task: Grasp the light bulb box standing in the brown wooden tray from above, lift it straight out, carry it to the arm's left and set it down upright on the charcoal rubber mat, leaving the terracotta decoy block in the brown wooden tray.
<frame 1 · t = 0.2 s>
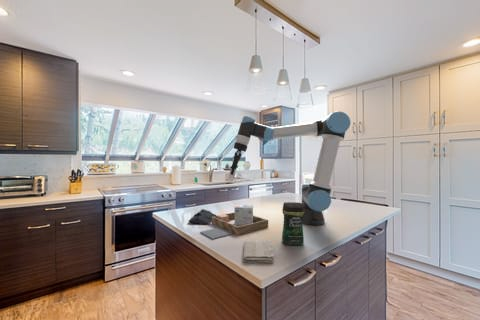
hand: (230, 178, 125), 27 cm above the counter, tool tilted 15°, fingers open, 13 cm apart
mat: (216, 233, 112), on the counter
light bulb box: (243, 224, 128), resting in brown wooden tray
coffee jar: (292, 243, 100), on the counter
dark slate chunk: (202, 220, 138), on the counter
brown wooden tray: (239, 225, 126), on the counter
decoy block: (222, 224, 129), resting in brown wooden tray
washcloth: (257, 254, 89), on the counter
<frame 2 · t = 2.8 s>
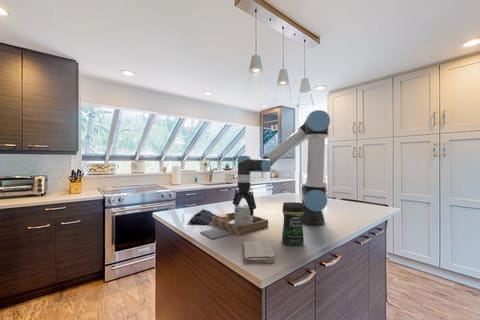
hand: (243, 218, 128), 3 cm above the counter, tool pointing down, fingers closed on light bulb box, 12 cm apart
light bulb box: (243, 224, 128), resting in brown wooden tray, touching gripper
everything else where it was.
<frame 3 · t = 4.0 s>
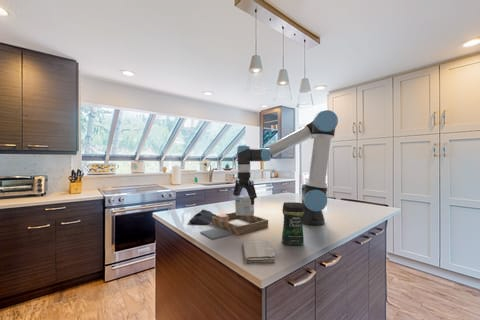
hand: (244, 208, 128), 9 cm above the counter, tool pointing down, fingers closed on light bulb box, 12 cm apart
light bulb box: (245, 214, 128), point 6 cm above the counter, touching gripper
everything else where it was.
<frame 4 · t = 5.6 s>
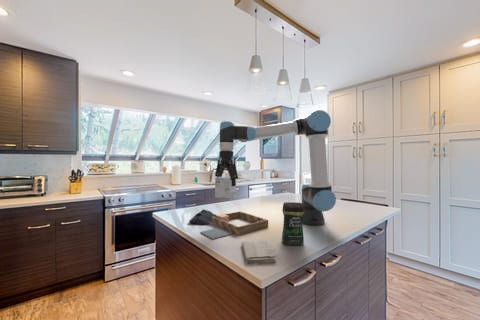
hand: (225, 190, 118), 21 cm above the counter, tool pointing down, fingers closed on light bulb box, 12 cm apart
light bulb box: (225, 197, 118), point 18 cm above the counter, touching gripper
everything else where it was.
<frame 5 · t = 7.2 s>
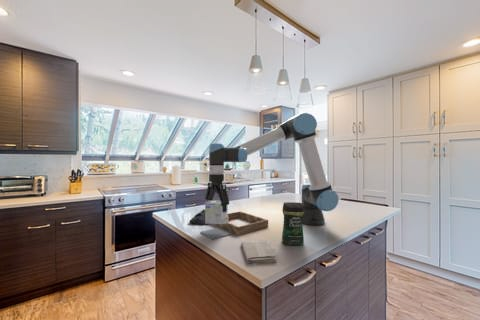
hand: (216, 215, 112), 9 cm above the counter, tool pointing down, fingers closed on light bulb box, 12 cm apart
light bulb box: (216, 222, 112), point 6 cm above the counter, touching gripper
everything else where it was.
when the fingers open (5 cm above the counter, at t = 8.5 s): light bulb box drops 1 cm, resting on mat.
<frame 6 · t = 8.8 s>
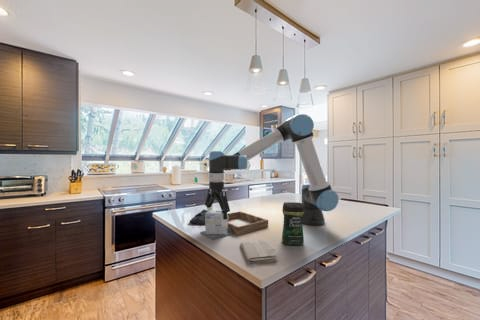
hand: (216, 222, 112), 6 cm above the counter, tool pointing down, fingers open, 13 cm apart
light bulb box: (216, 232, 112), resting on mat
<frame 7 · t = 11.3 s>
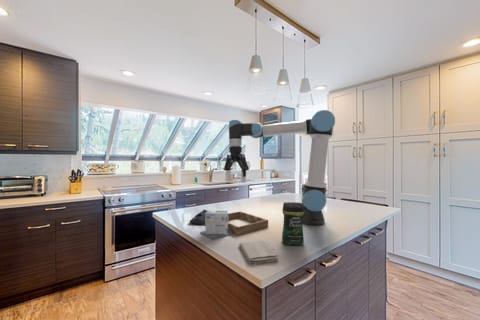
hand: (235, 181, 130), 25 cm above the counter, tool pointing down, fingers open, 13 cm apart
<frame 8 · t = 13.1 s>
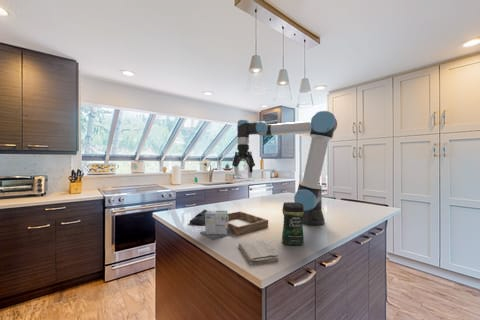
hand: (243, 177, 141), 27 cm above the counter, tool pointing down, fingers open, 13 cm apart
at the end: light bulb box inside the target area on the mat (0.1 cm from its centre), point 0.4 cm above the mat's base; light bulb box tilted 0°; the gripper is holding nothing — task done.
